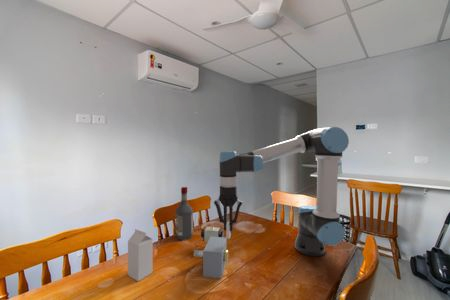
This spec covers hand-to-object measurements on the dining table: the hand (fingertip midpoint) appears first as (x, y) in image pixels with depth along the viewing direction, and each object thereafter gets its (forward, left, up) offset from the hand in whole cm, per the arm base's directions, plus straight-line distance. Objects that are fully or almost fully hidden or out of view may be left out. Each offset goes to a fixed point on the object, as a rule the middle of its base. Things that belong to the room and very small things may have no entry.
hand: (228, 237), depth 93 cm
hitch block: (+6, 0, -14) cm, 15 cm away
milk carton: (+37, +10, -15) cm, 41 cm away
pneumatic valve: (+11, -17, -15) cm, 25 cm away
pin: (+8, 0, -11) cm, 13 cm away
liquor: (+31, -28, -15) cm, 44 cm away
